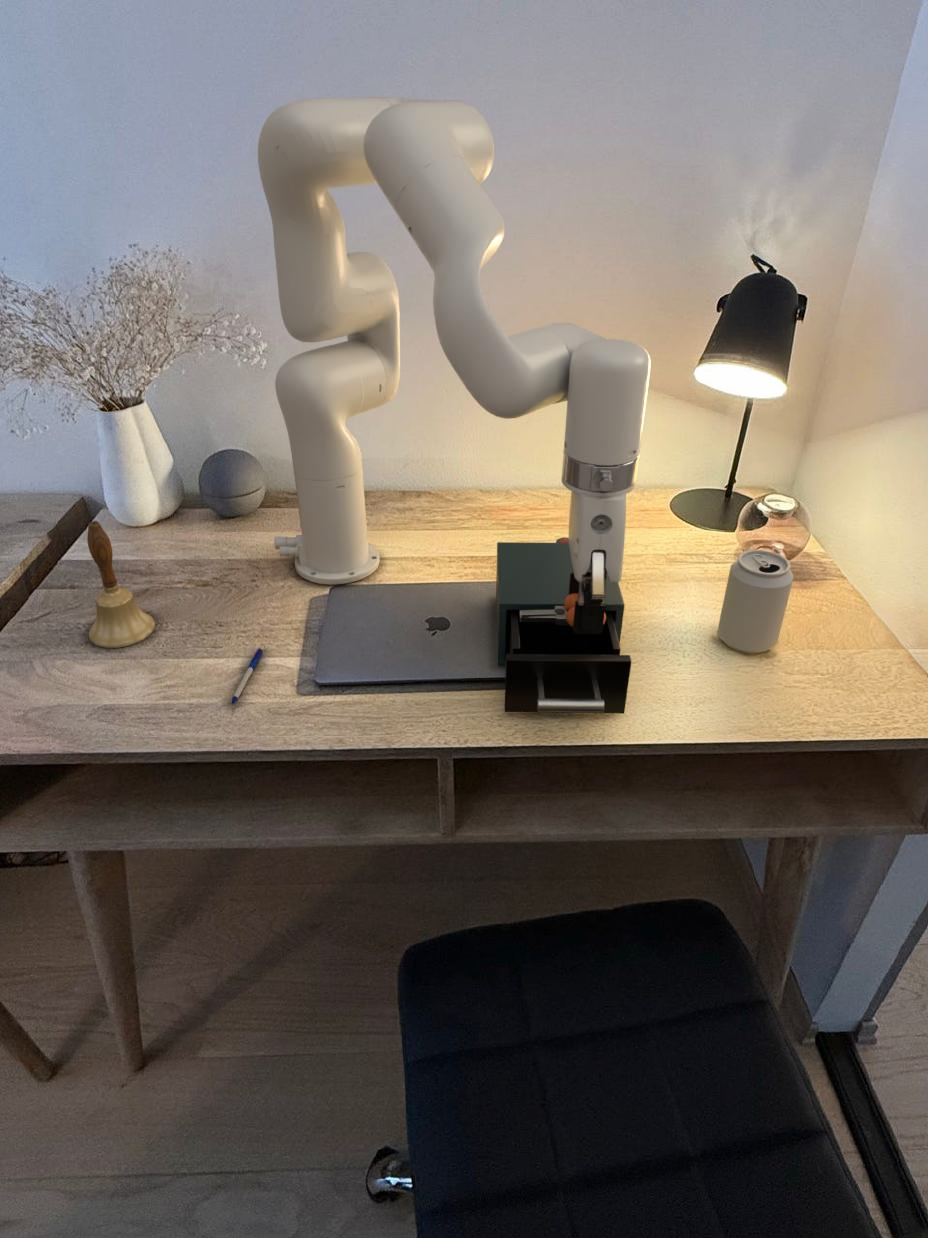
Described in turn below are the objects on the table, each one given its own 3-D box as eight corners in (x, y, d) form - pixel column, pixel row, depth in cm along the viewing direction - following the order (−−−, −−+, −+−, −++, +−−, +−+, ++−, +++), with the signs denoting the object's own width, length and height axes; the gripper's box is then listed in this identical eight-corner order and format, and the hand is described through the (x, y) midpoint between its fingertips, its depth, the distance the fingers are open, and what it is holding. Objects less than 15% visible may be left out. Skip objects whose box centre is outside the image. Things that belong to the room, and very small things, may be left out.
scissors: (600, 607, 96) (602, 589, 95) (606, 632, 92) (608, 614, 90) (518, 606, 96) (519, 588, 95) (520, 631, 92) (521, 613, 90)
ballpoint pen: (256, 652, 105) (255, 645, 104) (263, 652, 105) (262, 646, 104) (230, 704, 96) (229, 698, 96) (238, 705, 96) (237, 698, 96)
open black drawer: (630, 743, 89) (638, 689, 85) (505, 741, 90) (507, 688, 86) (608, 642, 105) (614, 592, 101) (501, 641, 105) (503, 591, 101)
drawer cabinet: (616, 667, 102) (624, 604, 97) (497, 666, 102) (499, 603, 97) (601, 601, 115) (608, 542, 110) (495, 600, 115) (497, 541, 110)
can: (744, 663, 103) (763, 581, 96) (704, 633, 108) (719, 553, 102) (788, 647, 106) (810, 566, 99) (747, 618, 111) (764, 540, 105)
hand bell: (168, 619, 111) (142, 512, 102) (128, 653, 105) (97, 542, 96) (117, 608, 114) (87, 503, 105) (75, 641, 107) (40, 532, 98)
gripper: (651, 506, 76) (628, 663, 86) (624, 437, 91) (607, 579, 101) (570, 505, 76) (557, 662, 87) (556, 436, 91) (546, 578, 101)
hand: (584, 616), depth 93 cm, fingers closed on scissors, 5 cm apart
